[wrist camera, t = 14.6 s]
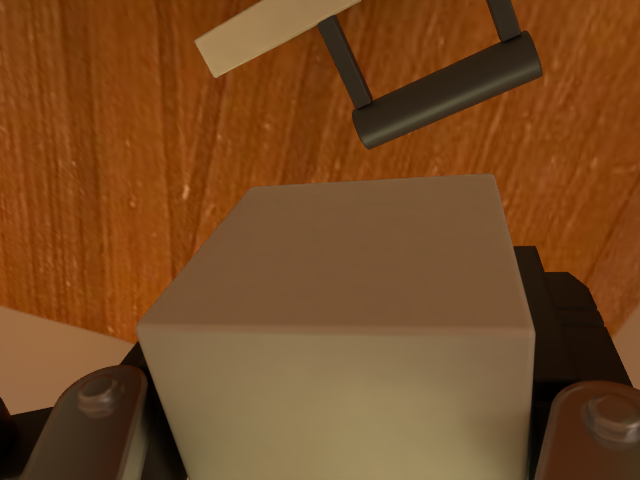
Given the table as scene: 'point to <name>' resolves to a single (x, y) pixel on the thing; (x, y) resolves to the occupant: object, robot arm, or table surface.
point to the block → (349, 337)
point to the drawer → (369, 116)
